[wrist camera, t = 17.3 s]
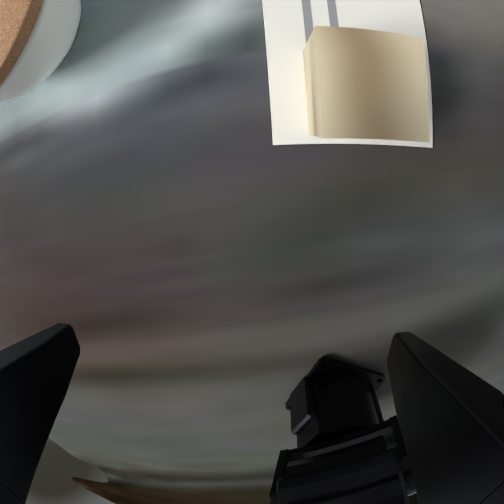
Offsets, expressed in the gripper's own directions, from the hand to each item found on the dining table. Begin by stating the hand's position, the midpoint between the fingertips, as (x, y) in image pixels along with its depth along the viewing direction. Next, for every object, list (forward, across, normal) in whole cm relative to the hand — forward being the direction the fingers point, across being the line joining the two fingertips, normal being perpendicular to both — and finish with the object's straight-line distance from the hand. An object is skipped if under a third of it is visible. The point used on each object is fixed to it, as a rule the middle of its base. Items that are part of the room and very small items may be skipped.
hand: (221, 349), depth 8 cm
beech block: (+12, -6, -8) cm, 15 cm away
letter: (+12, -6, -10) cm, 17 cm away
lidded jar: (+12, +14, -14) cm, 23 cm away
